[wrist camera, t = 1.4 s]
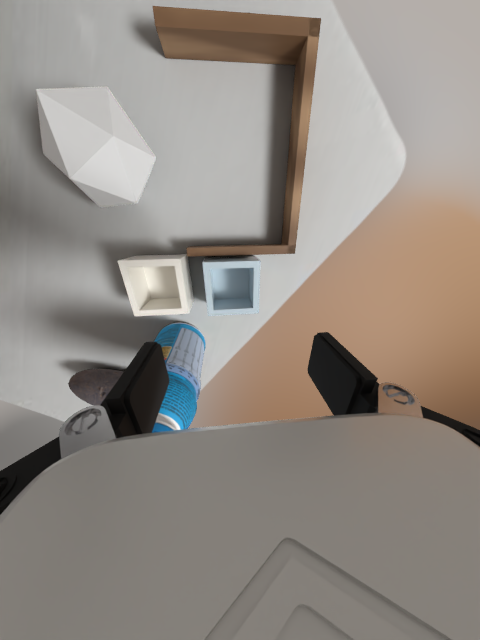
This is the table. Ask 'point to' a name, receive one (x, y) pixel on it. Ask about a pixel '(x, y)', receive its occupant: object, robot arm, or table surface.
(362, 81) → the table surface
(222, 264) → the greyblue cup
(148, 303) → the offwhite cup
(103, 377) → the perforated stone tool
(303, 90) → the walnut bay
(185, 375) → the beverage bottle
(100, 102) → the die
